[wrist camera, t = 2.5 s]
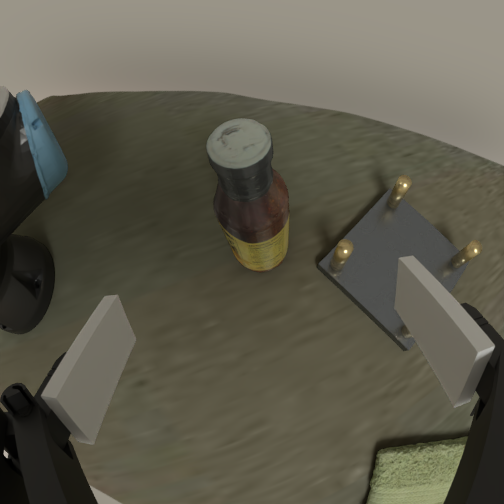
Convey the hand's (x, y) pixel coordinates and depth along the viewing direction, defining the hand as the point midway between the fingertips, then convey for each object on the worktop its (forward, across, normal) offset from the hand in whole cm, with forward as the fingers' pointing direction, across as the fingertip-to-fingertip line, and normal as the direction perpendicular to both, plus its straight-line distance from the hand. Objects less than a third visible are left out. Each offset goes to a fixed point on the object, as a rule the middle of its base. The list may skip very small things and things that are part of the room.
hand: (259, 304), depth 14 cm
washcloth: (-1, +17, -30) cm, 35 cm away
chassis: (+19, +16, -10) cm, 26 cm away
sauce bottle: (+22, 0, -7) cm, 23 cm away
